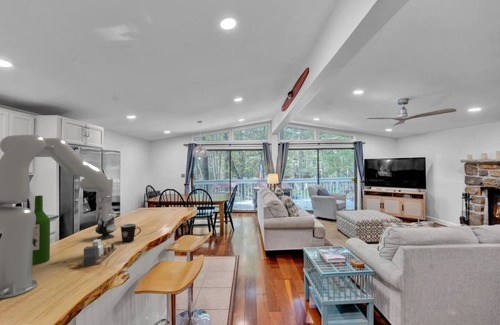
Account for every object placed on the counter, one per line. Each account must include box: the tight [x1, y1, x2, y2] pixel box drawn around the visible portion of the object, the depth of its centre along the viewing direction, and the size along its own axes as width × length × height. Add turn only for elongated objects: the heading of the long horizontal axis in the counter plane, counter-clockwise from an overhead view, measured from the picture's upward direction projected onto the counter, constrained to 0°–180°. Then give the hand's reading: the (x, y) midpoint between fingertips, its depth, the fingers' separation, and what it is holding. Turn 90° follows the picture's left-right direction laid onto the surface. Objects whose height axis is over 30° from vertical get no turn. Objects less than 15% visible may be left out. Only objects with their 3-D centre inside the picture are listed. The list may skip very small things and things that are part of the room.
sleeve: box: [91, 238, 103, 257], centre depth 125 cm, size 5×4×8 cm
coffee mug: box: [120, 223, 142, 244], centre depth 153 cm, size 12×9×10 cm
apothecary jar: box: [94, 209, 117, 241], centre depth 162 cm, size 12×12×18 cm
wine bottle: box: [32, 195, 51, 266], centre depth 121 cm, size 9×9×32 cm
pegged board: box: [78, 240, 117, 267], centre depth 128 cm, size 22×9×8 cm, turn 11°
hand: (102, 233), depth 133 cm, fingers closed
